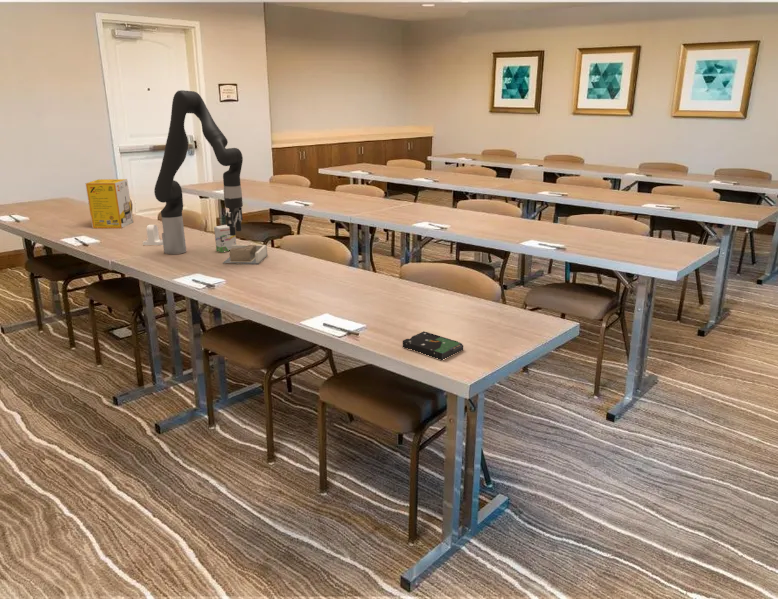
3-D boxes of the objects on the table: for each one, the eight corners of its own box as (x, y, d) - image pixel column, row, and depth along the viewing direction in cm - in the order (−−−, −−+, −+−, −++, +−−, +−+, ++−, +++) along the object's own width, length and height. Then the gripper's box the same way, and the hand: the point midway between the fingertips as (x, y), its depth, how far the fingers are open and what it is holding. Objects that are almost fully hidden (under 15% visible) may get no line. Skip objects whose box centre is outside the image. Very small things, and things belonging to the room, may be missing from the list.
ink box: (220, 253, 291) (218, 228, 287) (216, 251, 295) (213, 226, 291) (237, 250, 296) (235, 225, 292) (232, 248, 300) (230, 224, 296)
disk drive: (401, 349, 182) (442, 362, 173) (401, 340, 181) (443, 353, 172) (423, 339, 190) (464, 351, 180) (423, 330, 189) (464, 342, 180)
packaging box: (105, 222, 362) (98, 179, 354) (133, 222, 362) (127, 179, 354) (92, 228, 347) (85, 183, 339) (121, 228, 346) (115, 183, 339)
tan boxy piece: (230, 261, 274) (229, 250, 272) (237, 255, 283) (236, 244, 282) (250, 261, 273) (249, 250, 272) (256, 255, 283) (255, 244, 281)
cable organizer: (147, 243, 312) (145, 223, 308) (166, 243, 311) (164, 223, 308) (142, 245, 307) (139, 225, 303) (162, 246, 306) (159, 226, 303)
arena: (222, 263, 272) (221, 252, 271) (233, 255, 287) (232, 244, 285) (258, 264, 271) (257, 253, 270) (267, 255, 285) (266, 245, 284)
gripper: (229, 193, 273) (232, 229, 279) (218, 198, 260) (222, 236, 265) (246, 193, 273) (249, 229, 278) (236, 199, 259) (239, 237, 265)
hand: (235, 233), depth 272 cm, fingers open, 8 cm apart
